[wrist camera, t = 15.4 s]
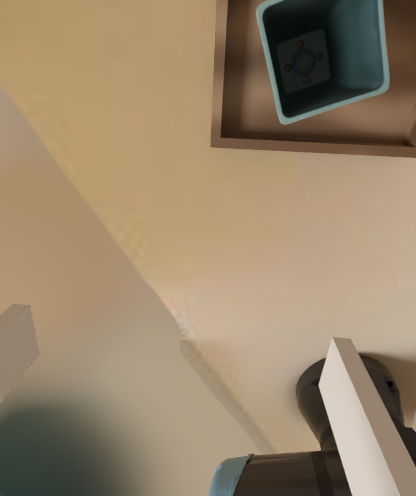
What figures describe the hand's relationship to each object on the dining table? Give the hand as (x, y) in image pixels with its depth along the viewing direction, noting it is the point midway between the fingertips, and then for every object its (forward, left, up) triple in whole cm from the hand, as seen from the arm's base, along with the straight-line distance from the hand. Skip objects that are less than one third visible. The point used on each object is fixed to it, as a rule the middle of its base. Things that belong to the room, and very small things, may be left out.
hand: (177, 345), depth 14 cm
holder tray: (+14, -11, -28) cm, 33 cm away
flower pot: (+14, -8, -27) cm, 32 cm away
